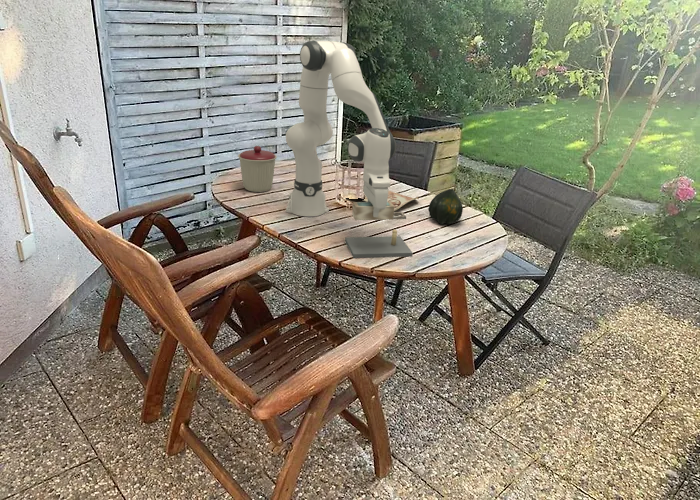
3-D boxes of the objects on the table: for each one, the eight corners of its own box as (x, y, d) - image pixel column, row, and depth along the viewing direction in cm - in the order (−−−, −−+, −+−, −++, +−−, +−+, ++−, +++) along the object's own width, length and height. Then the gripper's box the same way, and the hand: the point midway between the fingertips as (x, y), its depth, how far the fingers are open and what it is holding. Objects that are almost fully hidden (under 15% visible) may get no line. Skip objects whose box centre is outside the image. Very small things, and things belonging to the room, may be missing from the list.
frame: (355, 220, 188) (356, 206, 186) (352, 215, 193) (352, 201, 191) (406, 219, 192) (407, 205, 190) (401, 214, 197) (403, 201, 195)
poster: (423, 209, 255) (374, 192, 272) (426, 196, 253) (376, 180, 270) (390, 217, 234) (339, 199, 251) (392, 204, 232) (341, 186, 249)
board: (344, 240, 203) (345, 222, 200) (399, 239, 207) (401, 222, 204) (353, 258, 188) (354, 238, 185) (412, 256, 193) (414, 237, 190)
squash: (424, 213, 221) (452, 189, 218) (420, 203, 235) (446, 180, 232) (447, 236, 225) (474, 212, 221) (441, 225, 239) (467, 202, 235)
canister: (232, 186, 258) (231, 143, 250) (266, 182, 268) (266, 140, 260) (247, 196, 245) (247, 151, 237) (283, 192, 254) (283, 148, 246)
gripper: (360, 168, 195) (358, 204, 200) (373, 184, 177) (370, 223, 182) (377, 168, 196) (374, 204, 202) (392, 184, 178) (388, 222, 183)
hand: (372, 213), depth 192 cm, fingers closed on frame, 5 cm apart
